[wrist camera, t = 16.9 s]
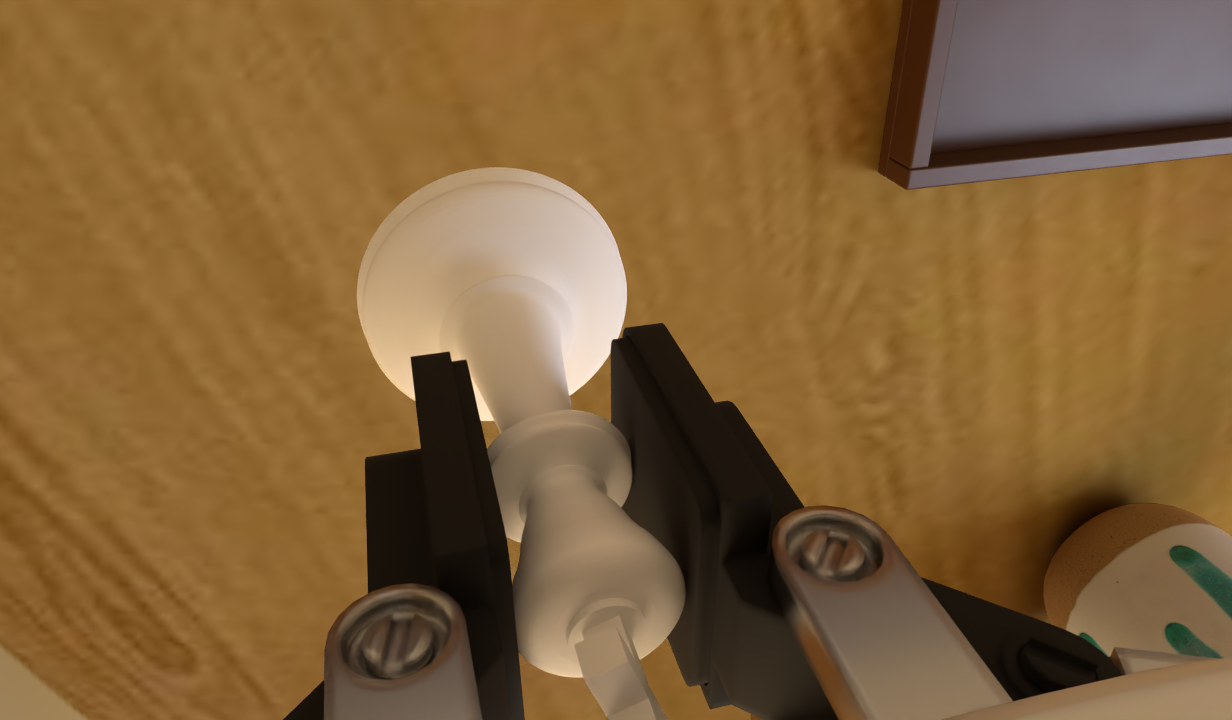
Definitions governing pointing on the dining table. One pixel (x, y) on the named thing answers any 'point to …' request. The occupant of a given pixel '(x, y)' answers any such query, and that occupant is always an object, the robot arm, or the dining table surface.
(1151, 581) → the vase
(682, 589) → the chess piece
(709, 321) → the dining table surface
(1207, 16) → the tray
